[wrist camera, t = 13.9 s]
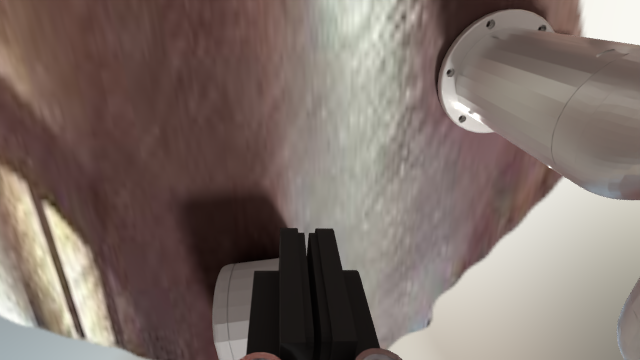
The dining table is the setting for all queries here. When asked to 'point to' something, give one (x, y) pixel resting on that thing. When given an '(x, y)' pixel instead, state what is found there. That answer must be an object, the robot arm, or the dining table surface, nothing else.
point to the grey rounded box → (235, 306)
